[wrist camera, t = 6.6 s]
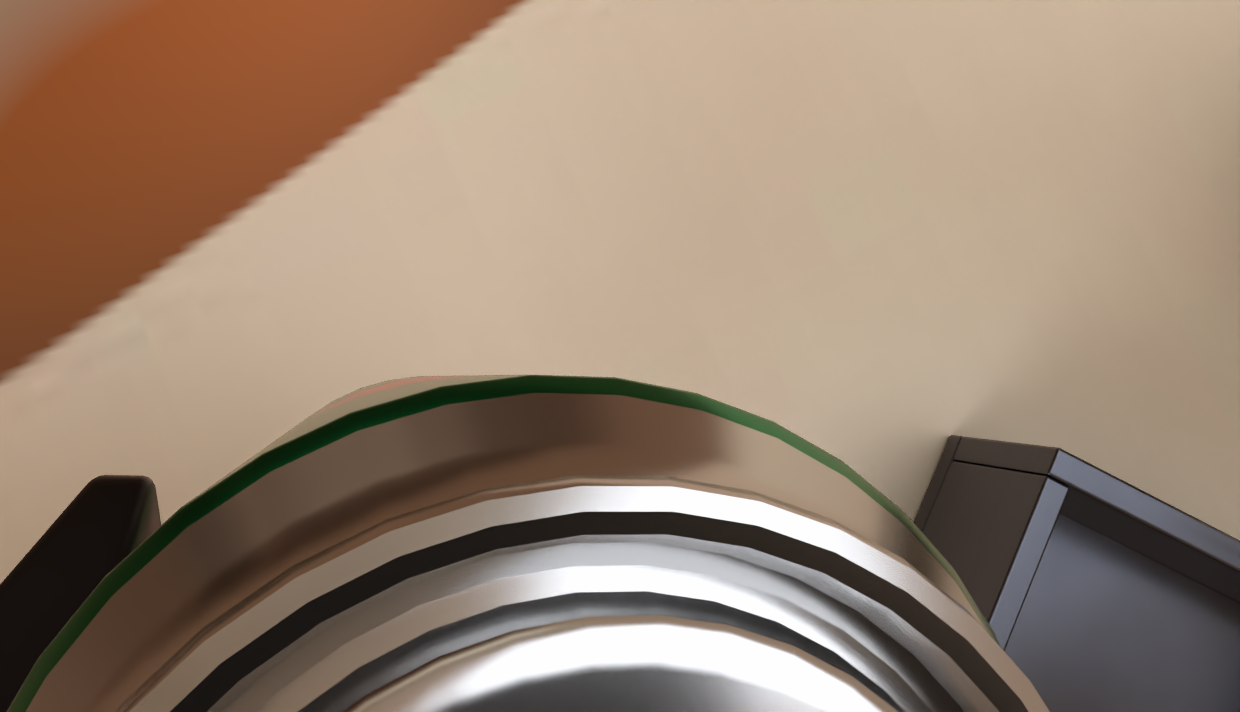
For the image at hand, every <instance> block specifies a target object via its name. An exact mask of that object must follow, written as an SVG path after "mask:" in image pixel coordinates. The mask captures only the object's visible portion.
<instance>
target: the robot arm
mask: <svg viewBox="0 0 1240 712" xmlns="http://www.w3.org/2000/svg"><path fill="white" fill-rule="evenodd" d="M160 526H161V521H160V514H159V507H158V501H157V494H156V488H155V485H154V483H153V481H152V480H151V479H150V478H149V477H145V476H129V475H103V476H98V477H96V478H94V479H93V480H91V481H90V482H89V483H88V484H87V485H86V486H85V487H84V488H83V490H82V491H81V492H80V493H79V494H78V495H77V497H76V498H75V499H74V500H73V501H72V502H71V503H70V505H69V506H68V507H67V508H66V509H65V510H64V512H63V513H62V514H61V515H60V516H59V517H58V519H57V520H56V521H55V522H54V523H53V524H52V525H51V527H50V528H49V529H48V530H47V531H46V532H45V534H44V535H43V536H42V537H41V538H40V539H39V540H38V542H37V543H36V544H35V545H34V546H33V547H32V549H31V550H30V551H29V552H28V553H27V554H26V555H25V557H24V558H23V559H22V560H21V561H20V562H19V564H18V565H17V566H16V567H15V568H14V569H13V570H12V572H11V573H10V574H9V575H8V576H7V577H6V579H5V580H4V581H3V582H2V583H1V584H0V712H7V710H8V709H9V707H10V705H11V703H12V702H13V700H14V698H15V697H16V695H17V693H18V692H19V690H20V688H21V686H22V685H23V683H24V681H25V680H26V678H27V676H28V675H29V673H30V671H31V669H32V668H33V666H34V664H35V663H36V661H37V659H38V658H39V656H40V655H41V654H42V653H43V652H44V650H45V649H46V648H47V647H48V645H49V644H50V643H51V642H52V641H53V639H54V638H55V637H56V636H57V634H58V633H59V632H60V631H61V630H62V628H63V627H64V626H65V625H66V623H67V622H68V621H69V620H70V618H71V617H72V616H73V615H74V614H75V612H76V611H77V610H78V609H79V607H80V606H81V605H82V604H83V603H84V601H85V600H86V599H87V598H88V596H89V595H90V594H91V593H92V592H93V590H94V589H95V588H96V587H97V585H98V584H99V583H100V582H101V581H102V579H103V578H104V577H105V576H106V575H107V574H108V573H109V572H110V571H112V570H113V569H114V568H115V567H116V566H117V565H118V564H119V563H120V562H121V561H123V560H124V559H125V558H126V557H127V556H128V555H129V554H130V553H131V552H132V551H134V550H135V549H136V548H137V547H138V546H139V545H140V544H141V543H142V542H144V541H145V540H146V539H147V538H148V537H149V536H150V535H151V534H152V533H153V532H155V531H156V530H157V529H158V528H159V527H160Z"/></svg>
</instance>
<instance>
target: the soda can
mask: <svg viewBox="0 0 1240 712" xmlns="http://www.w3.org/2000/svg"><path fill="white" fill-rule="evenodd" d="M7 712H1050V711H1049V710H1048V708H1047V707H1046V705H1045V703H1044V702H1043V700H1042V699H1041V697H1040V695H1039V694H1038V692H1037V691H1036V689H1035V688H1034V686H1033V684H1032V683H1031V681H1030V680H1029V679H1028V678H1027V677H1026V676H1025V674H1024V673H1023V672H1022V671H1021V670H1020V669H1019V667H1018V666H1017V665H1016V664H1015V663H1014V662H1013V661H1012V660H1011V658H1010V657H1009V656H1008V655H1007V654H1006V653H1005V652H1004V651H1003V650H1002V648H1001V646H1000V644H999V642H998V640H997V637H996V635H995V633H994V631H993V630H992V628H991V626H990V625H989V623H988V622H987V620H986V619H985V617H984V615H983V614H982V612H981V611H980V609H979V608H978V606H977V604H976V603H975V601H974V600H973V598H972V597H971V595H970V593H969V592H968V590H967V589H966V587H965V586H964V584H963V582H962V581H961V579H960V578H959V576H958V575H957V573H956V571H955V570H954V568H953V567H952V566H951V564H950V563H949V562H948V561H947V560H946V559H945V558H944V557H943V555H942V554H941V553H940V552H939V551H938V550H937V549H936V548H935V546H934V545H933V544H932V543H931V542H930V541H929V540H928V539H927V537H926V536H925V535H924V534H923V533H922V532H921V531H920V530H919V528H918V527H917V526H916V525H915V524H914V523H913V522H912V521H911V519H910V518H909V517H908V516H907V515H906V514H905V513H904V512H903V510H902V509H900V508H899V507H898V506H897V505H895V504H894V503H893V502H892V501H891V500H889V499H888V498H887V497H886V496H884V495H883V494H882V493H881V492H880V491H878V490H877V489H876V488H875V487H873V486H872V485H871V484H870V483H869V482H867V481H866V480H865V479H864V478H862V477H861V476H860V475H859V474H857V473H856V472H855V471H854V470H853V469H851V468H850V467H849V466H848V465H846V464H845V463H844V462H843V461H841V460H840V459H838V458H836V457H834V456H833V455H831V454H829V453H827V452H826V451H824V450H822V449H820V448H819V447H817V446H815V445H813V444H812V443H810V442H808V441H806V440H805V439H803V438H801V437H799V436H798V435H796V434H794V433H792V432H791V431H789V430H787V429H785V428H784V427H782V426H780V425H778V424H777V423H775V422H773V421H770V420H768V419H765V418H762V417H760V416H757V415H754V414H751V413H749V412H746V411H743V410H741V409H738V408H735V407H733V406H730V405H727V404H725V403H722V402H719V401H716V400H714V399H711V398H708V397H706V396H703V395H700V394H698V393H693V392H688V391H683V390H678V389H673V388H667V387H662V386H657V385H652V384H647V383H641V382H636V381H631V380H626V379H621V378H616V377H586V376H553V375H479V376H417V377H410V378H402V379H394V380H388V381H384V382H381V383H377V384H374V385H370V386H367V387H363V388H360V389H358V390H356V391H353V392H351V393H349V394H347V395H345V396H343V397H340V398H338V399H336V400H334V401H332V402H331V403H329V404H328V405H326V406H325V407H323V408H322V409H320V410H319V411H317V412H316V413H314V414H312V415H311V416H309V417H308V418H307V419H305V420H304V421H302V422H301V423H300V424H298V425H297V426H295V427H294V428H292V429H291V430H290V431H288V432H287V433H285V434H284V435H283V436H281V437H280V438H278V439H277V440H276V441H274V442H273V443H271V444H270V445H269V446H267V447H266V448H264V449H263V450H261V451H260V452H259V453H257V454H256V455H254V456H253V457H252V458H250V459H249V460H247V461H246V462H245V463H243V464H242V465H240V466H239V467H238V468H236V469H235V470H233V471H232V472H231V473H229V474H228V475H226V476H225V477H223V478H222V479H221V480H219V481H218V482H216V483H215V484H214V485H212V486H211V487H209V488H208V489H207V490H205V491H204V492H202V493H201V494H200V495H198V496H197V497H195V498H194V499H192V500H191V501H190V502H188V503H187V504H185V505H184V506H183V507H181V508H180V509H179V510H178V511H177V512H176V513H174V514H173V515H172V516H171V517H170V518H169V519H168V520H167V521H166V522H164V523H163V524H162V525H161V526H160V527H159V528H158V529H157V530H156V531H155V532H153V533H152V534H151V535H150V536H149V537H148V538H147V539H146V540H145V541H144V542H142V543H141V544H140V545H139V546H138V547H137V548H136V549H135V550H134V551H132V552H131V553H130V554H129V555H128V556H127V557H126V558H125V559H124V560H123V561H121V562H120V563H119V564H118V565H117V566H116V567H115V568H114V569H113V570H112V571H110V572H109V573H108V574H107V575H106V576H105V577H104V578H103V579H102V581H101V582H100V583H99V584H98V585H97V587H96V588H95V589H94V590H93V592H92V593H91V594H90V595H89V596H88V598H87V599H86V600H85V601H84V603H83V604H82V605H81V606H80V607H79V609H78V610H77V611H76V612H75V614H74V615H73V616H72V617H71V618H70V620H69V621H68V622H67V623H66V625H65V626H64V627H63V628H62V630H61V631H60V632H59V633H58V634H57V636H56V637H55V638H54V639H53V641H52V642H51V643H50V644H49V645H48V647H47V648H46V649H45V650H44V652H43V653H42V654H41V655H40V656H39V658H38V659H37V661H36V663H35V664H34V666H33V668H32V669H31V671H30V673H29V675H28V676H27V678H26V680H25V681H24V683H23V685H22V686H21V688H20V690H19V692H18V693H17V695H16V697H15V698H14V700H13V702H12V703H11V705H10V707H9V709H8V710H7Z"/></svg>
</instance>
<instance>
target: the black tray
mask: <svg viewBox="0 0 1240 712" xmlns="http://www.w3.org/2000/svg"><path fill="white" fill-rule="evenodd" d="M914 524H915V525H916V526H917V527H918V528H919V530H920V531H921V532H922V533H923V534H924V535H925V536H926V537H927V539H928V540H929V541H930V542H931V543H932V544H933V545H934V546H935V548H936V549H937V550H938V551H939V552H940V553H941V554H942V555H943V557H944V558H945V559H946V560H947V561H948V562H949V563H950V564H951V566H952V567H953V568H954V570H955V571H956V573H957V575H958V576H959V578H960V579H961V581H962V582H963V584H964V586H965V587H966V589H967V590H968V592H969V593H970V595H971V597H972V598H973V600H974V601H975V603H976V604H977V606H978V608H979V609H980V611H981V612H982V614H983V615H984V617H985V619H986V620H987V622H988V623H989V625H990V626H991V628H992V630H993V631H994V633H995V635H996V637H997V640H998V642H999V644H1000V646H1001V648H1002V650H1003V651H1004V652H1005V653H1006V654H1007V655H1008V656H1009V657H1010V658H1011V660H1012V661H1013V662H1014V663H1015V664H1016V665H1017V666H1018V667H1019V669H1020V670H1021V671H1022V672H1023V673H1024V674H1025V676H1026V677H1027V678H1028V679H1029V680H1030V681H1031V683H1032V684H1033V686H1034V688H1035V689H1036V691H1037V692H1038V694H1039V695H1040V697H1041V699H1042V700H1043V702H1044V703H1045V705H1046V707H1047V708H1048V710H1049V711H1050V712H1240V540H1238V539H1236V538H1234V537H1232V536H1230V535H1228V534H1226V533H1224V532H1222V531H1220V530H1218V529H1216V528H1214V527H1212V526H1210V525H1209V524H1207V523H1205V522H1203V521H1201V520H1199V519H1197V518H1195V517H1193V516H1191V515H1189V514H1187V513H1185V512H1183V511H1181V510H1179V509H1177V508H1175V507H1174V506H1172V505H1170V504H1168V503H1166V502H1164V501H1162V500H1160V499H1158V498H1156V497H1154V496H1152V495H1150V494H1148V493H1146V492H1144V491H1142V490H1140V489H1138V488H1137V487H1135V486H1133V485H1131V484H1129V483H1127V482H1125V481H1123V480H1121V479H1119V478H1117V477H1115V476H1113V475H1111V474H1109V473H1107V472H1105V471H1103V470H1101V469H1100V468H1098V467H1096V466H1094V465H1092V464H1090V463H1088V462H1086V461H1084V460H1082V459H1080V458H1078V457H1076V456H1074V455H1072V454H1070V453H1068V452H1066V451H1064V450H1063V449H1061V448H1056V447H1047V446H1039V445H1030V444H1022V443H1013V442H1005V441H996V440H988V439H979V438H971V437H962V436H955V435H951V436H950V437H949V440H948V442H947V444H946V447H945V449H944V452H943V454H942V456H941V459H940V461H939V464H938V466H937V468H936V471H935V473H934V476H933V478H932V480H931V483H930V485H929V488H928V490H927V492H926V495H925V497H924V500H923V502H922V504H921V507H920V509H919V512H918V514H917V516H916V519H915V521H914Z"/></svg>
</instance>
